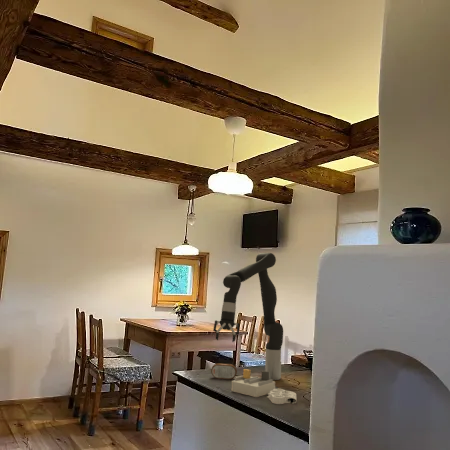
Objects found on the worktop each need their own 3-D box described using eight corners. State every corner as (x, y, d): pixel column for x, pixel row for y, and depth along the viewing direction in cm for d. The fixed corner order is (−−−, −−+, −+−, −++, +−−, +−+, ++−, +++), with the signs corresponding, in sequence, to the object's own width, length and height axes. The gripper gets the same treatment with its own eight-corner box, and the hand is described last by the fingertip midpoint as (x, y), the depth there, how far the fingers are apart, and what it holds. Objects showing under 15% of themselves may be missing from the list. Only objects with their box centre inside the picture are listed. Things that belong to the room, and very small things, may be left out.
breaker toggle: (245, 378, 241) (245, 368, 241) (251, 379, 238) (252, 369, 239) (241, 379, 239) (242, 369, 239) (248, 380, 236) (248, 370, 236)
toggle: (263, 380, 238) (263, 370, 239) (270, 381, 236) (270, 371, 236) (259, 380, 236) (260, 371, 237) (266, 382, 233) (267, 372, 234)
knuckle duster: (296, 406, 211) (265, 403, 214) (296, 396, 229) (267, 394, 231) (296, 399, 212) (265, 396, 214) (296, 390, 229) (268, 387, 232)
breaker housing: (250, 385, 246) (250, 373, 247) (274, 391, 236) (275, 378, 237) (231, 391, 233) (231, 378, 234) (256, 397, 223) (257, 383, 224)
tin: (236, 378, 262) (237, 364, 263) (236, 380, 259) (236, 365, 260) (211, 377, 264) (211, 362, 265) (210, 378, 261) (211, 363, 262)
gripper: (241, 313, 252) (238, 342, 248) (216, 310, 252) (212, 339, 248) (241, 312, 244) (238, 342, 240) (215, 309, 245) (211, 339, 241)
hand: (225, 341), depth 244 cm, fingers open, 8 cm apart
